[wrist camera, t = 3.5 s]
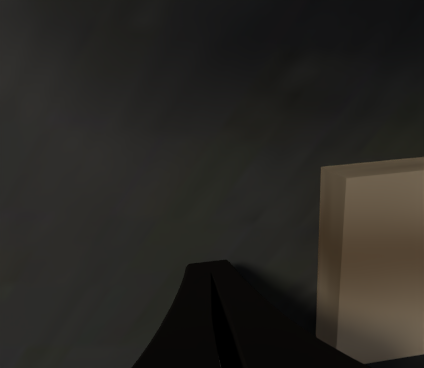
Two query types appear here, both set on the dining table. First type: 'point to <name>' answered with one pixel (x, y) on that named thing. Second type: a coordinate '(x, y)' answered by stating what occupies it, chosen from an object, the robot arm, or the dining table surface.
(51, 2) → the dining table surface
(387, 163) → the tile
